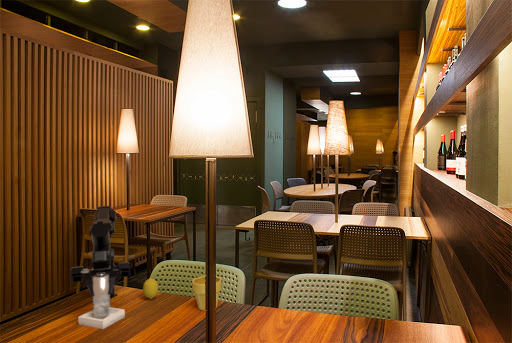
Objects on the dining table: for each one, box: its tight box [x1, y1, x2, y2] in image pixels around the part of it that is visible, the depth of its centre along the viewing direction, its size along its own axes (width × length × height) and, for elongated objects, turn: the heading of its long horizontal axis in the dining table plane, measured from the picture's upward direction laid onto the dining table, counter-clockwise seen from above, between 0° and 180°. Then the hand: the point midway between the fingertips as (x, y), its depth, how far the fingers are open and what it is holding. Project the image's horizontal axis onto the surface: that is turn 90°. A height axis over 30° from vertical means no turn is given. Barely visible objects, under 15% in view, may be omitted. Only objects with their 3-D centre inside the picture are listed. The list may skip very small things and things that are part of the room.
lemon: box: [142, 277, 159, 300], centre depth 151 cm, size 6×6×8 cm
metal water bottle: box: [91, 272, 111, 317], centre depth 132 cm, size 5×5×14 cm
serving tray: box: [77, 306, 126, 330], centre depth 132 cm, size 10×10×2 cm
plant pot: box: [191, 275, 223, 311], centre depth 142 cm, size 10×10×10 cm
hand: (101, 295), depth 131 cm, fingers closed on metal water bottle, 5 cm apart
